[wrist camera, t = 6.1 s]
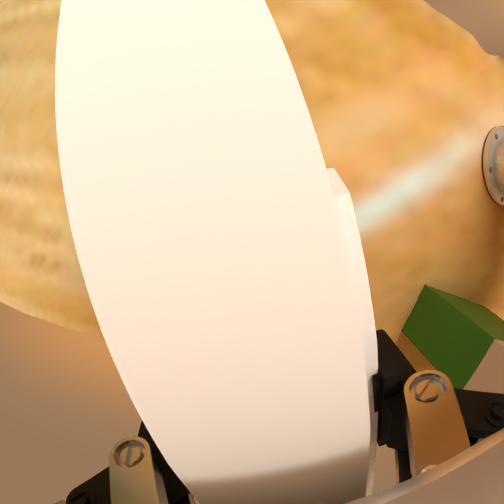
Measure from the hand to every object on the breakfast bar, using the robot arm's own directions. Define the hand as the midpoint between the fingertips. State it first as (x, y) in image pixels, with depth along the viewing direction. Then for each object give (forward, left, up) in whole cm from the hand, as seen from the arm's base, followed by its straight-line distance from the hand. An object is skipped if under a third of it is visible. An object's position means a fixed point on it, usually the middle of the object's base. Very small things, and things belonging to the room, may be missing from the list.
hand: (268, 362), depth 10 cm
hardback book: (-28, +22, -23) cm, 42 cm away
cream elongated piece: (0, +1, -4) cm, 4 cm away
